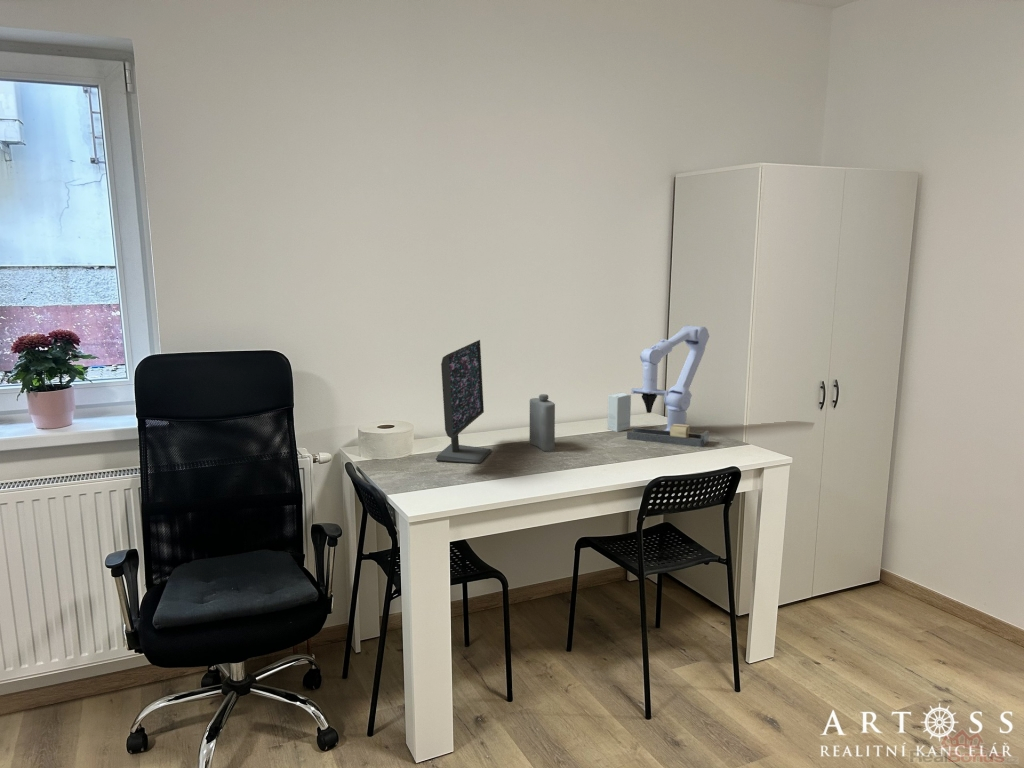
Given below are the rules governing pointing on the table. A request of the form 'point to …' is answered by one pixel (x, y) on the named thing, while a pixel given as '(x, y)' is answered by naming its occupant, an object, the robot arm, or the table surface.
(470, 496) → the table surface
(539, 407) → the flask
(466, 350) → the computer monitor
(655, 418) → the table surface
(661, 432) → the chute
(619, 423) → the skincare box
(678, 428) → the maple block
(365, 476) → the table surface
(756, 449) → the table surface
